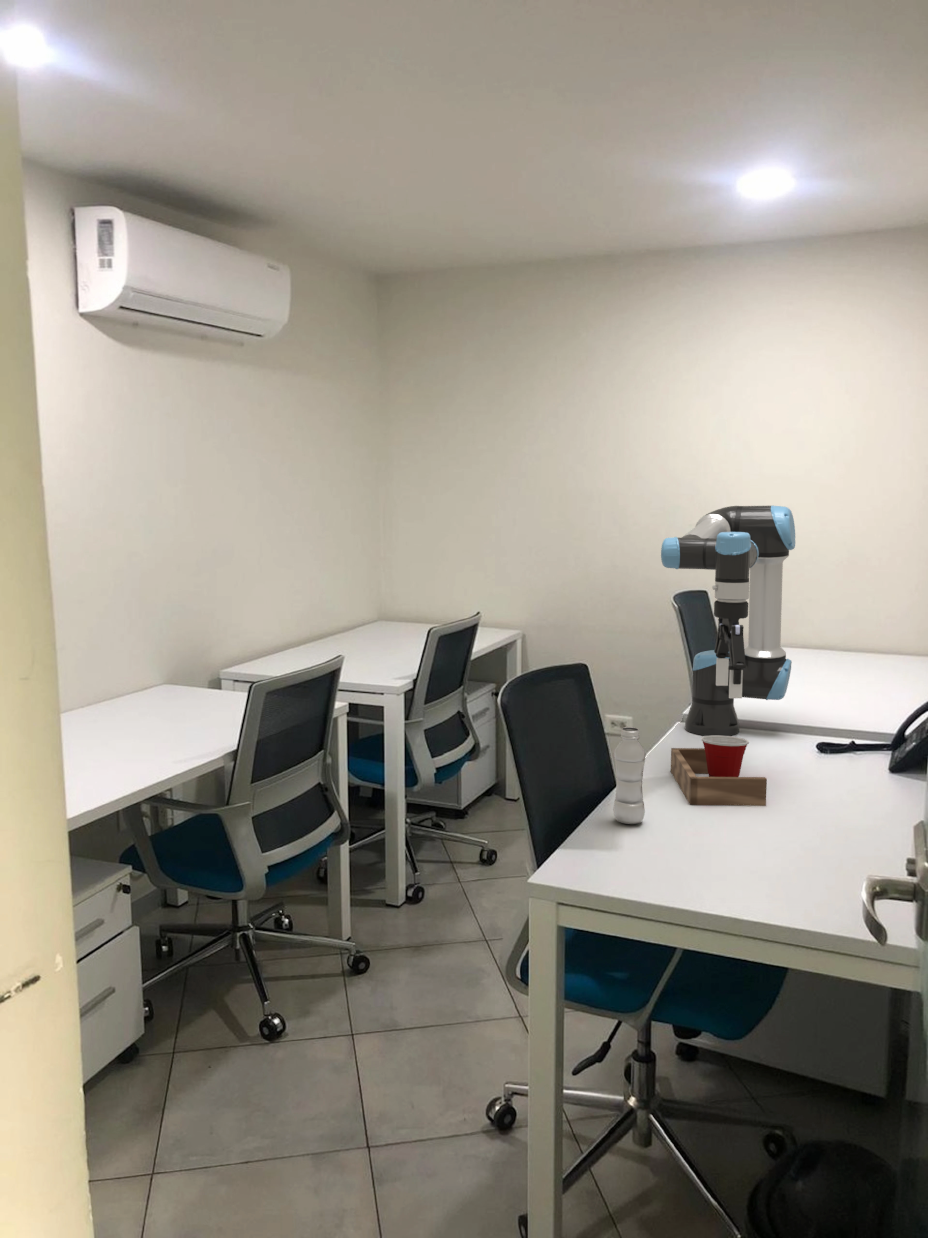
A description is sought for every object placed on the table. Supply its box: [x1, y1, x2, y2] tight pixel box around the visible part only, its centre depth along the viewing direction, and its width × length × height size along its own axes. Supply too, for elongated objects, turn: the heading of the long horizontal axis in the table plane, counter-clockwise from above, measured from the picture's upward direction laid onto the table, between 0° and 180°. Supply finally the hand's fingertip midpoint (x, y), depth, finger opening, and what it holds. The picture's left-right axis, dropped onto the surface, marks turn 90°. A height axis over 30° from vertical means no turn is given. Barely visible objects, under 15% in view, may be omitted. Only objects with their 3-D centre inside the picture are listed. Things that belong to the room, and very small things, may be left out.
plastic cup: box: [700, 735, 750, 777], centre depth 221 cm, size 11×11×12 cm
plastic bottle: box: [612, 726, 646, 825], centre depth 198 cm, size 6×7×20 cm
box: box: [670, 747, 768, 807], centre depth 221 cm, size 25×16×6 cm, turn 178°
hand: (728, 691), depth 219 cm, fingers open, 13 cm apart
